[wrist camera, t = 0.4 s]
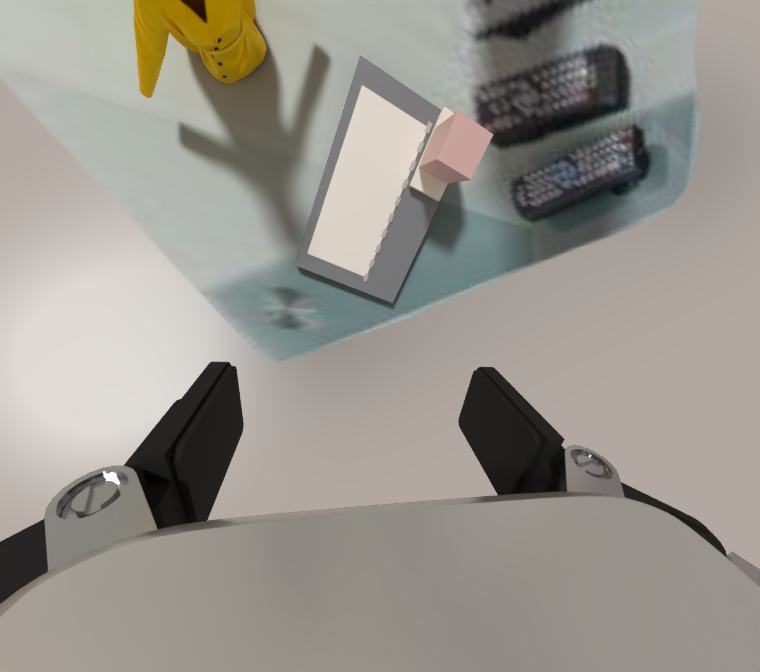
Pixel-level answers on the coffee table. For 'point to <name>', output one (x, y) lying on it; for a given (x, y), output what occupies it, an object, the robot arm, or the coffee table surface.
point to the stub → (450, 153)
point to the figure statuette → (198, 37)
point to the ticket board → (372, 188)
